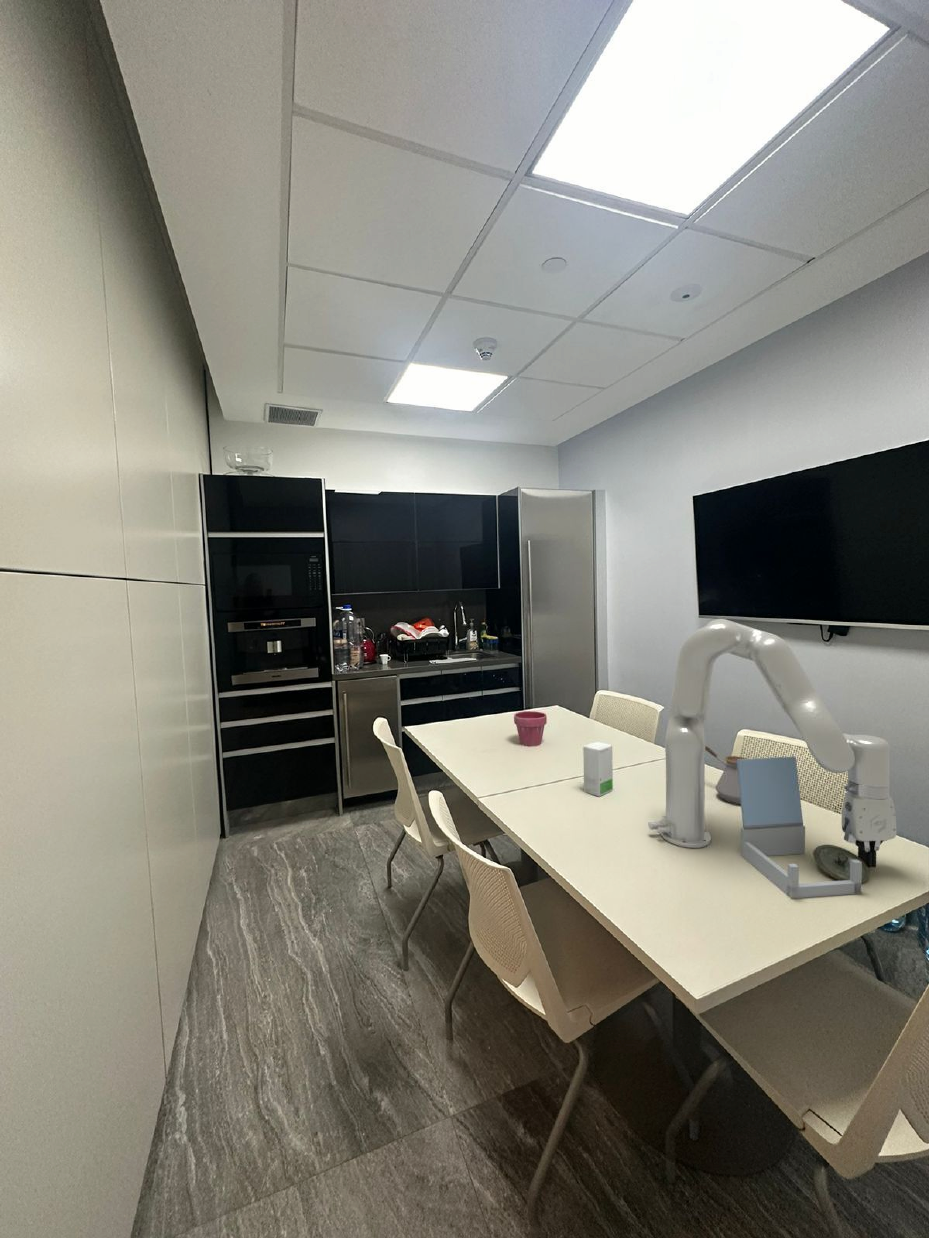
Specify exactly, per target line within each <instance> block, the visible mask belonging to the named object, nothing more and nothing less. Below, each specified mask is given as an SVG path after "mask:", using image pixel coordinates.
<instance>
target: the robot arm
mask: <svg viewBox="0 0 929 1238" xmlns="http://www.w3.org/2000/svg"><path fill="white" fill-rule="evenodd" d="M724 654H731V655H734V656H737V657H738V658H739V657H740V658H743V659H746V660H749V661H752V662H753V663H754V665H755V667H757V669H758V671H759V672H760V674H761V676H762V677H763V679H764V681H765V682H766V684H767V686H768V688H769V689H770V691H771V693H772V694H773V696H774V697H775V700H776V701H777V703H778V704H779V706H780V708H781V709H782V711H783V712H784V713H785V714H786V716H787V717H788V719H790V720H791V722H792V723H793V724H794V726H795V728H796V729H797V731H798V732H799V734H800V736H801V737H802V739H803V741H804V742H805V744H806V747H807V748H808V751H809V752H810V754H811V756H812V757H813V758H814V759H815V761H816V763H817V764H818V766H820V768H822V769H823V770H825V771H827V772H829V773H833V774H843V773H847V784H846V785H844V790H845V791H846V792H845V794H844V798H843V803H842V811H841V830H842V832H843V833H844V837H843V840H844V841H846V842H847V843H849V844H855V846H856V847H857V856H858V857H859V858H860V859H861V860H862V861H863V862H864V863H865V864H866V866H867V868H868V869H874V868H877V852H878V851H879V850H880V846H881V845H882V844H883V842H886V841H890V840H893V839H895V838H896V837H897V817H896V809H895V805H894V800H893V798H892V795H890V751H891V750H890V744H889V743H888V741H887V740H886V739H884V738H881V737H878V736H875V735H869V734H849V733H845V732H844V733H842V730H841V729H840V727H839V726H838V724H837V723H836V721H835V720H834V718H833V716H832V715H831V713H830V711H829V709H828V708H827V707H826V705H825V703H824V701H823V699H822V698H821V696H820V694H819V692H818V691H817V689H816V687H815V685H814V684H813V683H812V681H811V680H810V678H809V677H808V674H807V673H806V672H805V670H804V668H803V666H802V665H801V663H800V662H799V660H798V658H797V656H796V655H795V653H794V652H793V649H792V648H791V647H790V645H789V644H788V642H786V641H785V639H783V638H781V637H780V636H778V635H776V634H774V633H770V632H767V631H763V630H760V629H757V628H753V627H751V626H748V625H744V624H741V623H737V622H736V621H732V620H728V619H725V618H716V619H712V620H710V621H709V622H708V623H707V624H706V625H705V626H703V627H701V628H699V629H697V630H696V631H694V632H693V633H692V634H690V635H689V636H688V637H687V638H686V639H685V641H684V642H683V644H682V646H681V648H680V652H679V655H678V661H677V665H676V666H677V667H676V672H675V678H674V684H673V687H672V690H671V697H670V698H671V699H670V704H669V705H670V706H669V715H668V722H667V729H666V732H665V740H664V752H665V816H662V817H661V818H662V820H658V821H649V822H648V823H647V826H648V829H649V830H650V831H651V830H657V833H658V834H660V836H661V837H662V838H663V839H664V840H665V841H667V842H669V843H671V844H673V845H676V846H678V847H683V848H692V849H697V848H698V849H699V848H705V847H707V846H708V845H710V843H711V842H712V836H711V834H710V832H709V831H708V830H706V829H705V806H706V805H705V792H706V791H705V780H706V779H705V777H706V776H705V775H706V774H705V772H706V771H705V764H706V763H705V761H706V760H705V759H706V750H705V746H706V737H705V736H706V735H705V728H706V719H707V711H708V708H709V706H710V701H711V697H710V696H711V695H710V692H711V691H710V690H711V684H712V683H711V681H712V676H713V671H714V665H715V662H716V660H717V659H718V658H719V657H721V656H722V655H724Z"/></svg>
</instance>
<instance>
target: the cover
mask: <svg viewBox="0 0 929 1238" xmlns="http://www.w3.org/2000/svg"><path fill="white" fill-rule="evenodd" d="M797 764H798V763H797V757H796V756H781V757H779V756H778V757H760V758H758V757H757V758H745V759H737V771H738V781H739V791H740V801H741V804H740V810H741V821H742V828H744V829H747V828H763V827H780V826H796V825H804V820H803V811H802V804H801V803H802V801H801V792H800V791H801V790H800V784H799V783H800V782H799V774H798V767H797V766H798V765H797Z"/></svg>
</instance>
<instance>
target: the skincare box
mask: <svg viewBox="0 0 929 1238" xmlns="http://www.w3.org/2000/svg"><path fill="white" fill-rule="evenodd" d="M582 748H583V749H582V751H583V792H584V793H587V794H590V795H592V796H595V797H599V798H600V797H602V796H605V795H606V794H609V793H610V792H613V791H614V784H613V783H614V776H613V775H614V773H613V772H614V771H613V766H614V765H613V764H614V763H613V745H612V744H610V743H605V742H600V741H595V742H590V743H588V744H585V745H583V746H582Z"/></svg>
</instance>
